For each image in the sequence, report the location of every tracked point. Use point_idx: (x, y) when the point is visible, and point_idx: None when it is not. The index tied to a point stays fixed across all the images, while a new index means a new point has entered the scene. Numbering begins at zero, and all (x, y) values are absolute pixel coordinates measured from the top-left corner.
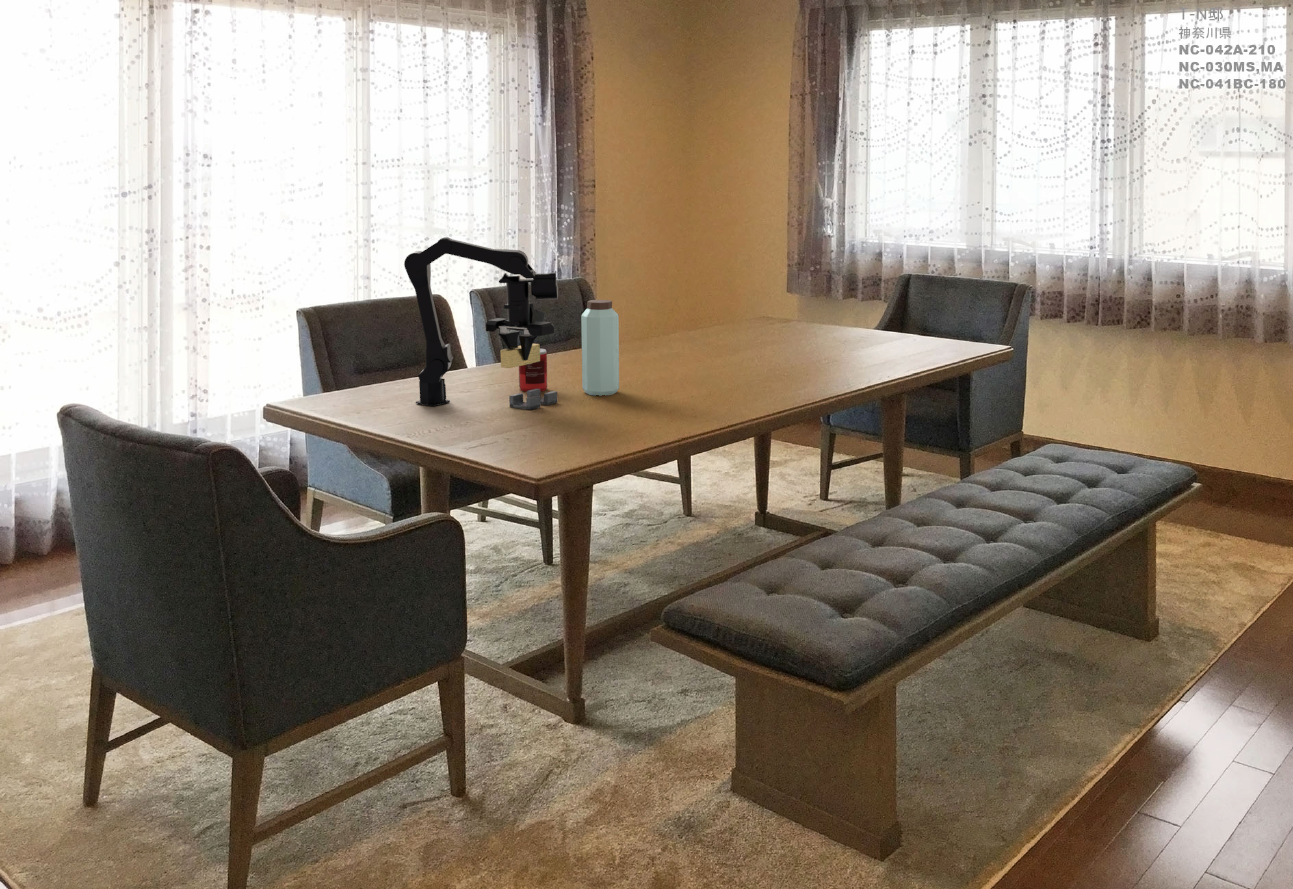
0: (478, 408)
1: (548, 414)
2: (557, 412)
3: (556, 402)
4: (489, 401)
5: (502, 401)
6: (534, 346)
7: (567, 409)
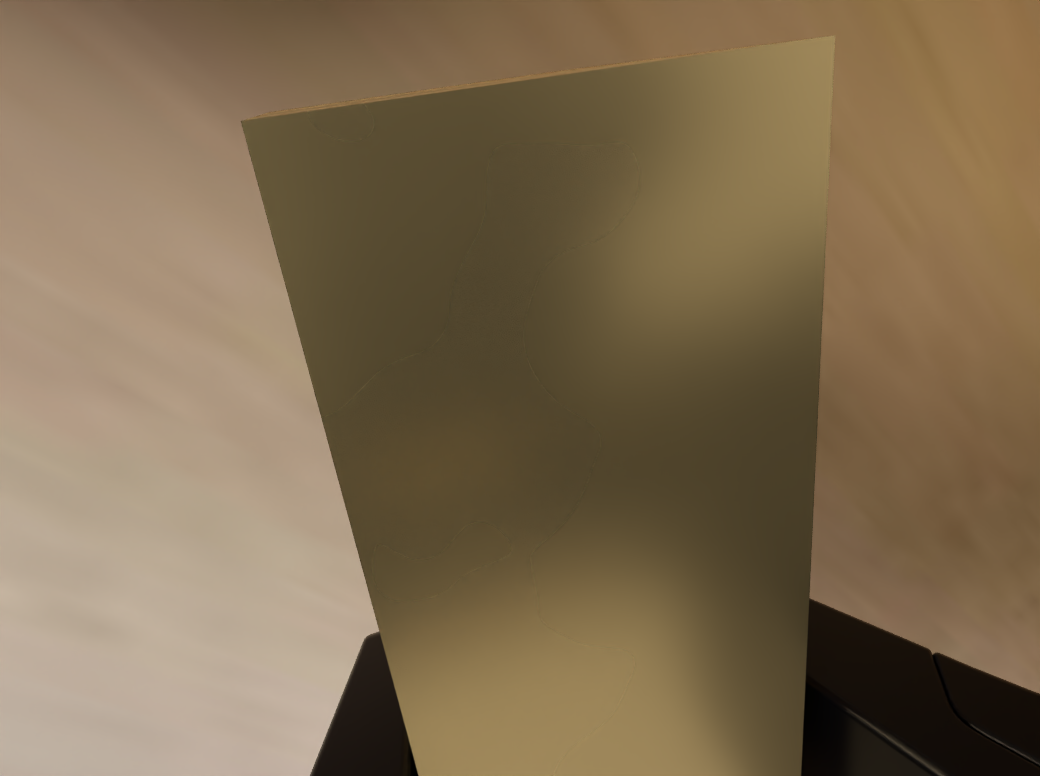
0: (328, 718)
1: (848, 435)
2: (862, 351)
3: None
4: (117, 539)
5: (207, 447)
6: (788, 377)
7: (866, 227)
